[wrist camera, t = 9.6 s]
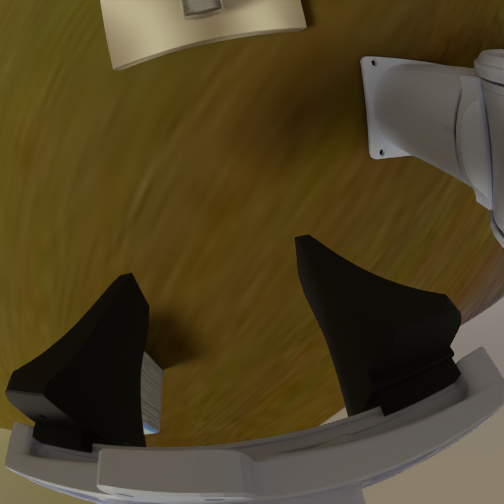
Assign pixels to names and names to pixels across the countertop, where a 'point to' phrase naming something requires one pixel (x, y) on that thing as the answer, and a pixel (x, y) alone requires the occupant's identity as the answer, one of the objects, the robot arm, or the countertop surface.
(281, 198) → the countertop surface
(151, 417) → the medicine box
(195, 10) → the threaded rod
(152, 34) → the beige blocky piece
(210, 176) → the countertop surface
